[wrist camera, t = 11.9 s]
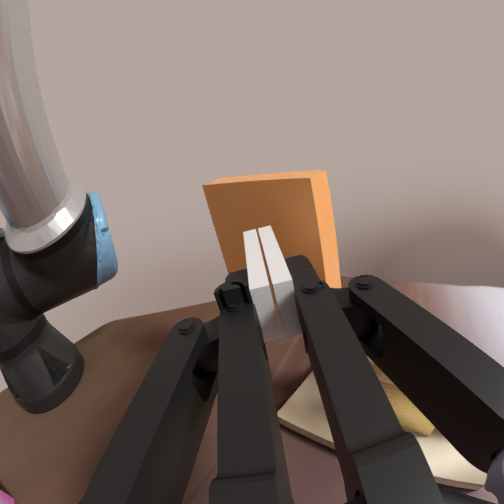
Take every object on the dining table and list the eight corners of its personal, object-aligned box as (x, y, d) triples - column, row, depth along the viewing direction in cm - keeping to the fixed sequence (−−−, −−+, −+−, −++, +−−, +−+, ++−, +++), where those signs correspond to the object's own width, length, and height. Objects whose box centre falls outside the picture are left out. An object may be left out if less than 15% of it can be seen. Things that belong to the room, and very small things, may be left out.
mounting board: (341, 342, 29) (341, 332, 29) (504, 380, 16) (509, 370, 15) (277, 422, 22) (275, 414, 21) (477, 490, 8) (485, 484, 8)
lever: (444, 331, 15) (461, 171, 11) (436, 358, 14) (460, 182, 9) (252, 284, 28) (222, 177, 23) (233, 298, 26) (199, 186, 22)
